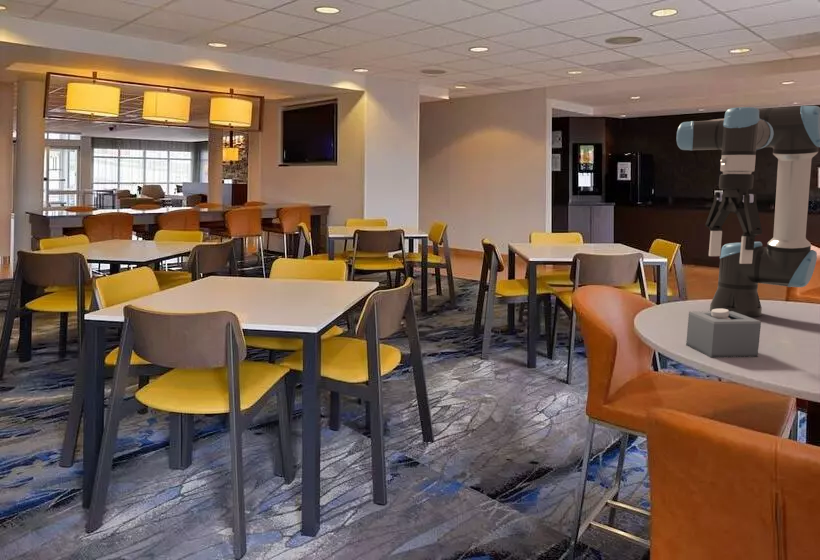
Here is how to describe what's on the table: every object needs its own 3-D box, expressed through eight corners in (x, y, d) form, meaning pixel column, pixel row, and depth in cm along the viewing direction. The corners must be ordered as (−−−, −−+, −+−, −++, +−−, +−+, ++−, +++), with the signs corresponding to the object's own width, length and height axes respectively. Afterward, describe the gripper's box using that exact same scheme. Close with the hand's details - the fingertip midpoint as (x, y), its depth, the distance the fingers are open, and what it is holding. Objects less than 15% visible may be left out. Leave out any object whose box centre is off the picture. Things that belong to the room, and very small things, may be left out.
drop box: (729, 344, 174) (732, 311, 173) (757, 357, 162) (761, 321, 161) (686, 345, 173) (688, 311, 171) (711, 357, 161) (714, 321, 160)
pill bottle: (711, 343, 171) (709, 307, 169) (734, 344, 168) (733, 307, 166) (707, 350, 167) (706, 312, 165) (731, 351, 164) (730, 313, 162)
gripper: (695, 172, 172) (689, 253, 176) (753, 173, 148) (744, 267, 152) (722, 172, 173) (716, 253, 177) (784, 173, 149) (775, 266, 152)
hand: (729, 259), depth 164 cm, fingers open, 13 cm apart
